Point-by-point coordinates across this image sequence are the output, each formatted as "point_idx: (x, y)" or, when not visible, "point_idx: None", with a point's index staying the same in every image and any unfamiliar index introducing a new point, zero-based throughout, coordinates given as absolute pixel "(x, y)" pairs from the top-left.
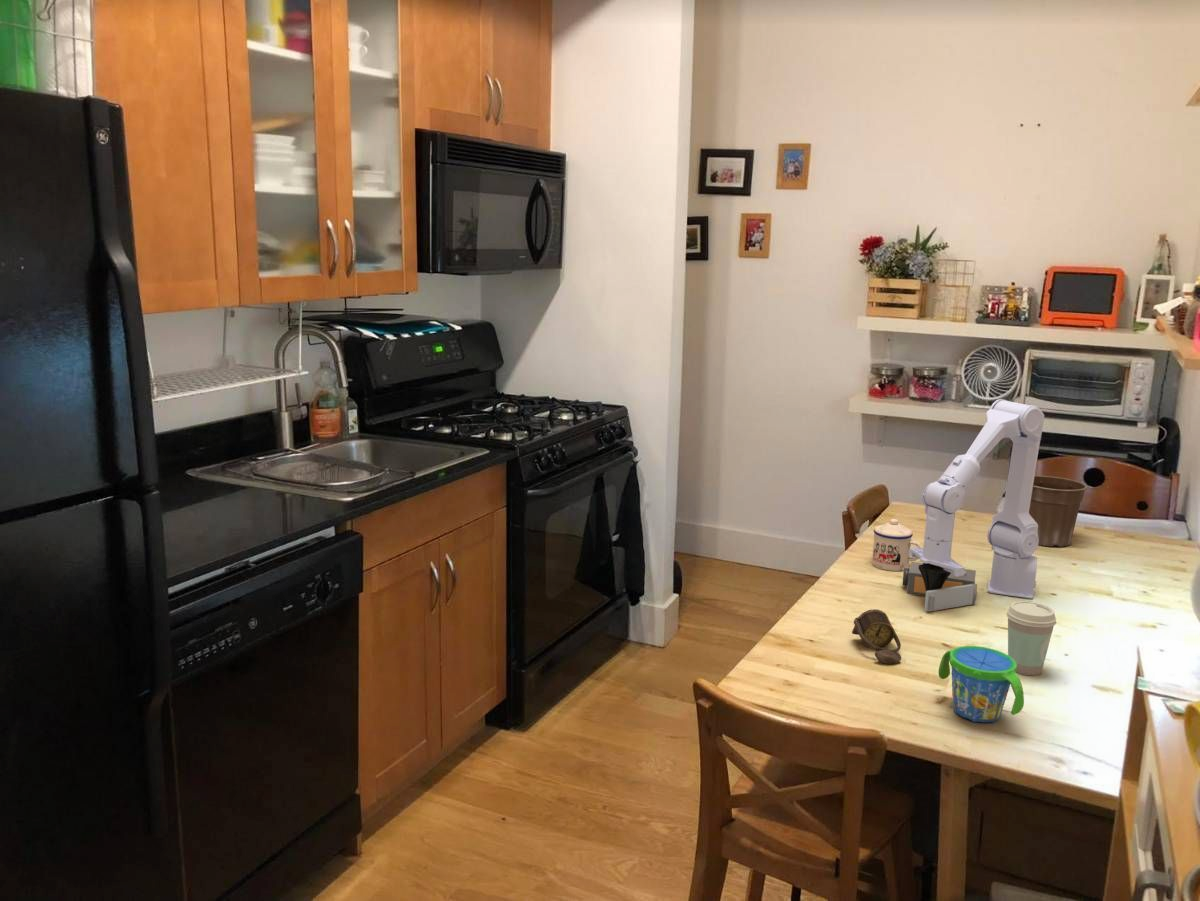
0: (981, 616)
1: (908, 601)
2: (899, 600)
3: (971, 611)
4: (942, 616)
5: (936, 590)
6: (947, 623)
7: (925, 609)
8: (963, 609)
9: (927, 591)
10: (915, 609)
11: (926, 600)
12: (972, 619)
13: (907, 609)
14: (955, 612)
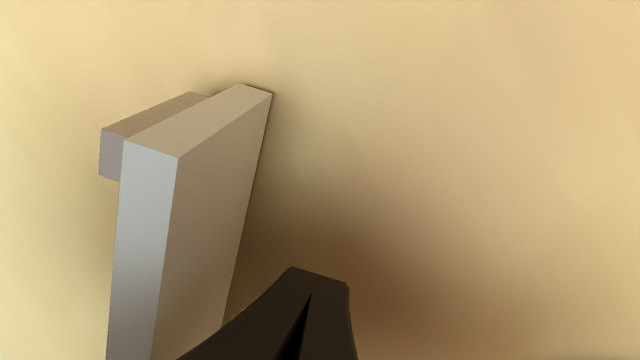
0: (30, 322)
1: (520, 211)
2: (605, 169)
3: None
4: None
5: (129, 284)
6: (9, 15)
7: (252, 92)
8: None
9: (157, 158)
10: (360, 80)
11: (212, 113)
12: (11, 239)
13: (412, 10)
14: None
